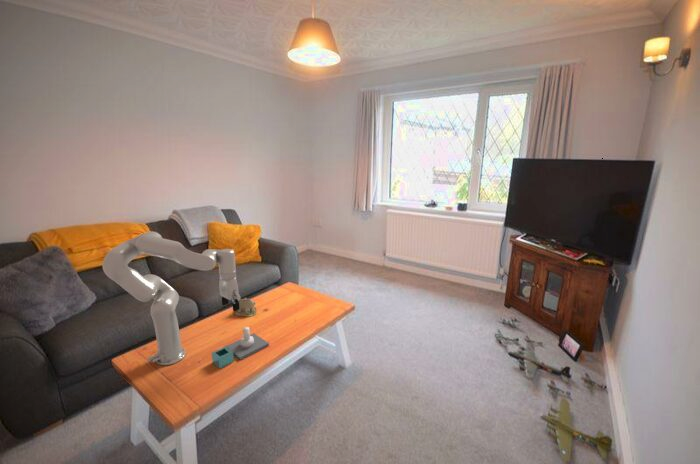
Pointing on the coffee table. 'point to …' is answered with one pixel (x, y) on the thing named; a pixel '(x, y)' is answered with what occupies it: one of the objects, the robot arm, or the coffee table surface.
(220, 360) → the collar
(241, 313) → the ceramic model
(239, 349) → the post plate
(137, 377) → the coffee table surface
